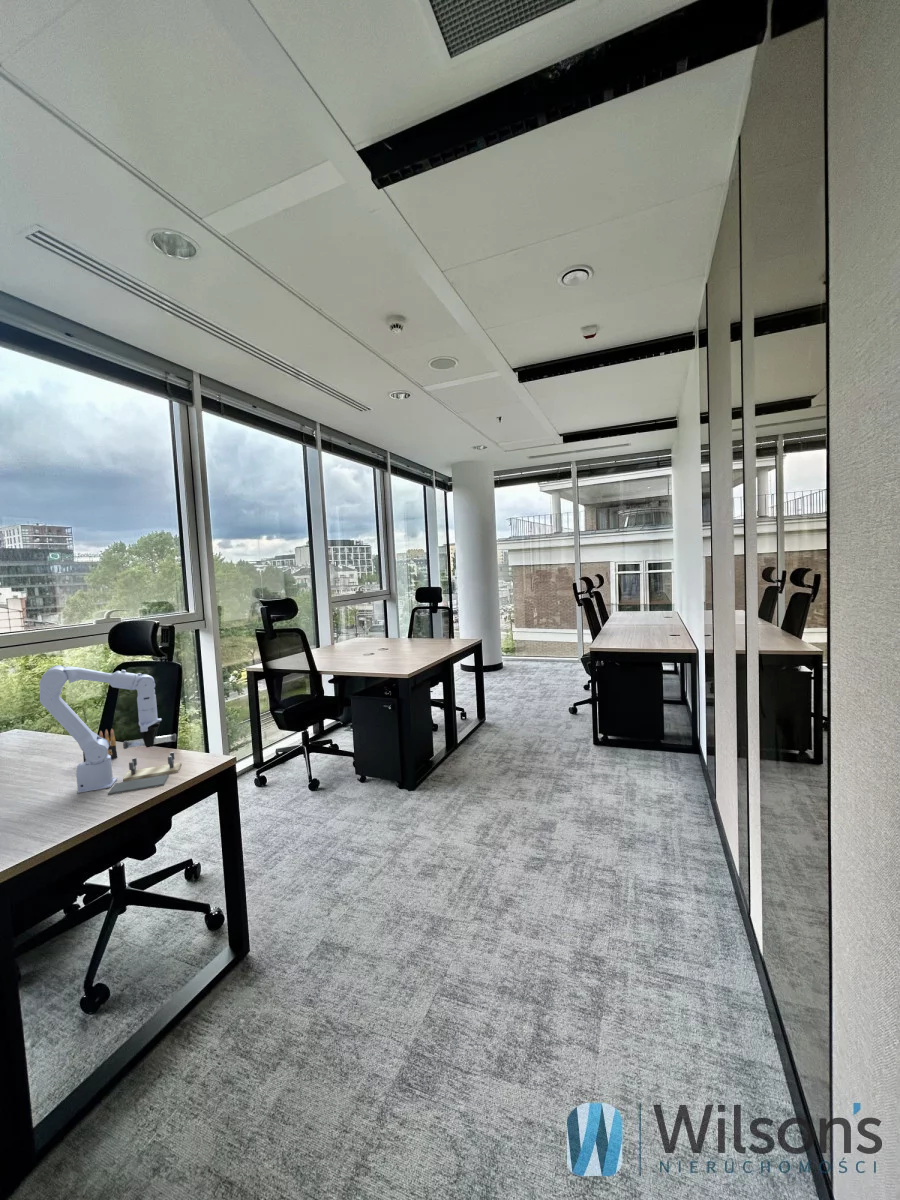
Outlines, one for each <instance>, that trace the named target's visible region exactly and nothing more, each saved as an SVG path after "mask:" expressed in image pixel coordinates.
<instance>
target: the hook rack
mask: <svg viewBox="0 0 900 1200" xmlns="http://www.w3.org/2000/svg"><path fill="white" fill-rule="evenodd" d="M175 758H176V757H175V751H171V752H170V753H169V756H167V764H164V765H157V766H152V767H145V768H138V769H137V766H138V760H137V759H138V758H137V757H133V758H132V759H131V761H130V762H128V767H129V770H128V771H127V773H126V774H125V775H124V777H123V778H122V782H127V780H128V781H133V780H139V779H145V778H151V777H157V776H163V775H169V774H174V773H179V771H180V769H181V767H182V762H176V763H175Z"/></svg>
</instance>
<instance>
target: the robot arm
mask: <svg viewBox="0 0 900 1200" xmlns="http://www.w3.org/2000/svg"><path fill="white" fill-rule="evenodd" d="M80 680H82V681H89V682H90V681H91V682H98V683H108V684H109V685H110V686H111V687H112V688H116V689H124V690H130V691H134V690H136V691H137V697H136V702H137V703H136V704H137V713H138V726H139V728H138V729H137V732H138V734H139V735H140V736H141V739H143V740H144V743H145V745H144V746H145V747H146V748H153V747H154V745H155V744H154V737H157V733H158V729H159V727H160V724H161V723H160V722H162V720H163V719H162V718H161V717H160V718H159V717H158V707H157V705H158V703H157V695H156V689H155V688H156V683H155V678H154V677H153V676H152V675H149V674H147V673H143V674H142V673H141V672H138V673H133V672H127V671H126V669H121V671H120V670H116V671H115V672H112V673H110V672H106V671H105V672H104V671H99V670H94V669H89V668H84V667H77V666H69V665H68V666H64V665H60V664H59V665H53V666H51V667H49V668H48V669H47V670H46V671H45V673H43V674H42V676H41V678H40V680H39V682H38V686H39V703H40V705H42V707H44V709H46V711H47V712H48V713H49V714H50V715H51V716H52V717H53V718H54V719H55V720H56V721H57V722H58V723H59V724H60V725H61V726H62V727H63V728H64V729H65V730H66V732H67V733H68V734H69V735H70V736H71V737H72V738H73V739H74V740H75V741H76V742H77V744H78V746H79V747H80V750H81V751H82V753H83V752H84V754H85V759H86V760H85V762H84V761H83V762H79V763H78V764H77V767H76V773H75V774H76V785H77V791H76V793H77V794H80V793H81V794H82V793H86V792H91V791H97V790H98V791H99V790H103V789H109V788H112V787H113V786H114V785H113V784H115V782H116V781H117V779H118V777H114V776H113V768H112V767H113V765H112V759H111V756H110V755H109V754H108V748H109V742H108V741H107V740H106V739H105V737H103V738H101V737H99V734H98V733H97V732H96V733H97V734H96V733H95V731H93V730H92V729H91V728H90V727H89V726H88V725H87V724H86V723H85V722H84V721H83V720H82V719H81V717H80V716H79V715H78V714H77V713H76V712H75V711H74V710H73V709H72V708H71V706H70V705H69V704H68V703H67V702H66V701H65V700H64V699H63V698H62V696H61V693H62V691H63V688H64V686H65V684H66V683H67V681H68V684H72V683H74V682H78V681H80Z"/></svg>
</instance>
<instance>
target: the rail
mask: <svg viewBox="0 0 900 1200" xmlns="http://www.w3.org/2000/svg"><path fill="white" fill-rule="evenodd" d="M170 742H177V734H176V733H173V734H167V735H161V736H160V735H159V736H156V737H154V745H157V744H158V745H159V744H164V743H170ZM144 746H145V743H144V740H143V738H140V739H133V740H124V741H123V744H122V747H123V749H124V750H127V749H130V748H131V749H132V748H136V747H137V748H138V747H144Z"/></svg>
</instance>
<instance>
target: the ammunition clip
mask: <svg viewBox="0 0 900 1200" xmlns="http://www.w3.org/2000/svg"><path fill="white" fill-rule="evenodd" d="M94 733H96V734H97V735H98V736H99V737H101V738H104V739H106V740H107V741H108V742H109V748H108V754H109V755H110V756H111V760H114V759H117V758H118V752H117V743H116V737H115V732H114V729H113V728H111V729H110V735H109V731H108V729H107V728H106V729H105V731H104V735H103V731H102V730H100V731H99V734H98V733H97V731H94ZM82 755H83V763H84V762H85V760H86V759H85V754H84V752H83V751H82Z"/></svg>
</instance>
